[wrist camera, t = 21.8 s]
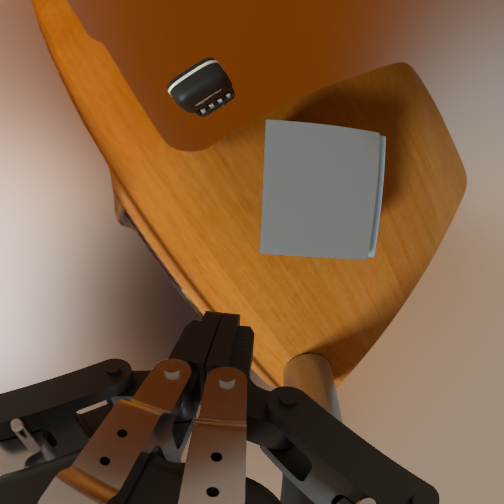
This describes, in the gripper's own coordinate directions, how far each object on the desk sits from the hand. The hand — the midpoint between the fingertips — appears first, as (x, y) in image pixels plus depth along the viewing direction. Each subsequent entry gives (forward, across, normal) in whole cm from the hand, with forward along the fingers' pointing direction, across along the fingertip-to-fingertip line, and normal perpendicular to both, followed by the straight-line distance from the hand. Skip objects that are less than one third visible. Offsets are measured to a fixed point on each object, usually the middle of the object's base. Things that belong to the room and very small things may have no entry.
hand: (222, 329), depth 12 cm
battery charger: (+30, +8, -17) cm, 35 cm away
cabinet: (+30, -7, -5) cm, 31 cm away
